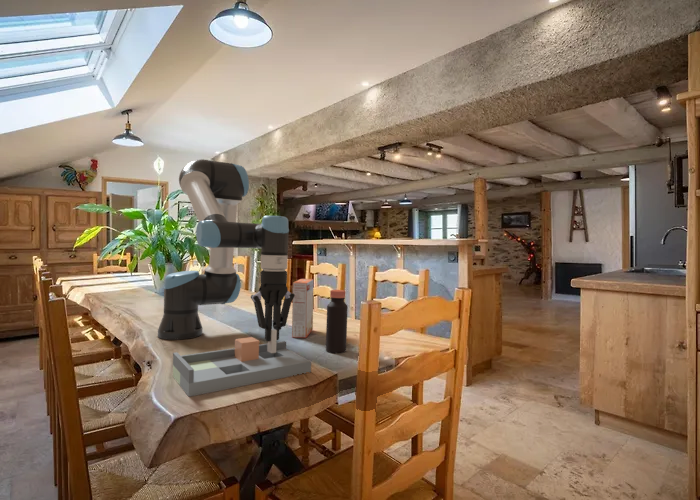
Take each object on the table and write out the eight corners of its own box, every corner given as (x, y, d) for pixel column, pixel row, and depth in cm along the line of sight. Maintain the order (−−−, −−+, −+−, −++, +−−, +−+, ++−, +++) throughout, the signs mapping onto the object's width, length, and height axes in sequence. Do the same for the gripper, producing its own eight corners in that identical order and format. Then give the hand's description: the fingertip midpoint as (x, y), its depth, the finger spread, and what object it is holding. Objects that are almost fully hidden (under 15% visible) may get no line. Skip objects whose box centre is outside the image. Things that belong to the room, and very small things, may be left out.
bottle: (338, 354, 123) (340, 292, 123) (321, 351, 127) (323, 290, 127) (350, 350, 129) (352, 290, 129) (333, 346, 133) (335, 288, 132)
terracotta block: (234, 357, 108) (234, 339, 108) (251, 354, 111) (251, 337, 111) (241, 361, 104) (241, 343, 104) (258, 358, 107) (259, 340, 107)
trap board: (172, 375, 100) (173, 352, 100) (284, 357, 119) (284, 337, 119) (188, 396, 87) (189, 370, 87) (310, 372, 106) (311, 350, 106)
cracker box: (298, 329, 157) (300, 278, 157) (313, 330, 157) (314, 278, 157) (290, 337, 143) (292, 281, 143) (306, 338, 143) (308, 282, 143)
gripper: (257, 271, 104) (255, 358, 104) (300, 270, 111) (298, 351, 112) (247, 269, 110) (244, 351, 110) (288, 268, 117) (285, 345, 118)
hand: (271, 351), depth 111 cm, fingers closed
